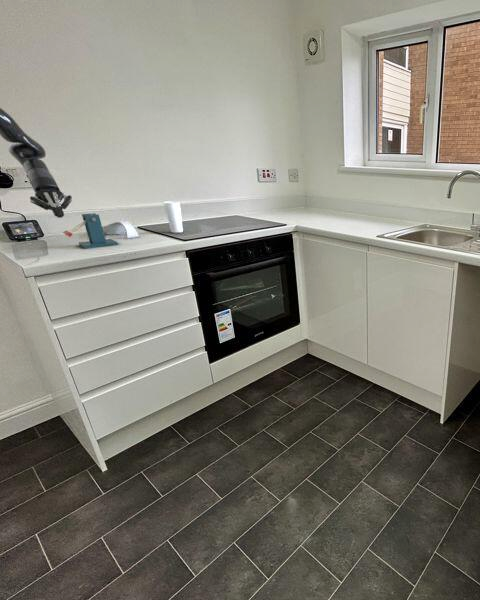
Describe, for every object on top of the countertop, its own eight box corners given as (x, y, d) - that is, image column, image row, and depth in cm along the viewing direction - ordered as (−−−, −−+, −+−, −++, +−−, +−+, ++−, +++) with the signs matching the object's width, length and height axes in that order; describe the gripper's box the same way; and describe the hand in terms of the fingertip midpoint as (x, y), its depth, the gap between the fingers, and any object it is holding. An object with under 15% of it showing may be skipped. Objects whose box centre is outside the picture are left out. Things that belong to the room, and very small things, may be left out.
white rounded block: (94, 233, 169) (90, 218, 166) (122, 230, 179) (118, 216, 176) (119, 240, 159) (115, 224, 156) (147, 236, 168) (144, 221, 166)
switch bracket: (85, 248, 142) (76, 216, 138) (79, 245, 147) (69, 214, 143) (118, 244, 151) (110, 214, 146) (110, 241, 156) (103, 212, 151)
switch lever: (71, 238, 139) (65, 233, 138) (67, 235, 143) (61, 231, 141) (99, 220, 145) (94, 215, 143) (94, 218, 148) (89, 213, 147)
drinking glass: (183, 230, 184) (178, 201, 178) (186, 232, 179) (180, 202, 174) (168, 231, 180) (162, 201, 174) (170, 234, 175) (164, 203, 170)
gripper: (19, 175, 135) (36, 211, 133) (64, 175, 145) (81, 209, 143) (21, 189, 140) (38, 223, 137) (65, 188, 150) (81, 220, 147)
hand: (60, 216), depth 140 cm, fingers closed
